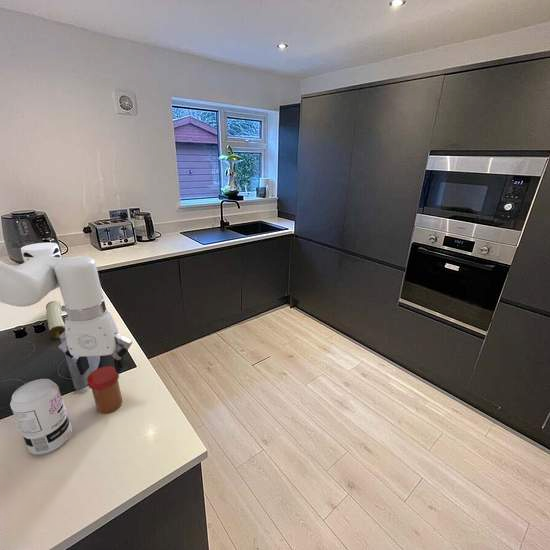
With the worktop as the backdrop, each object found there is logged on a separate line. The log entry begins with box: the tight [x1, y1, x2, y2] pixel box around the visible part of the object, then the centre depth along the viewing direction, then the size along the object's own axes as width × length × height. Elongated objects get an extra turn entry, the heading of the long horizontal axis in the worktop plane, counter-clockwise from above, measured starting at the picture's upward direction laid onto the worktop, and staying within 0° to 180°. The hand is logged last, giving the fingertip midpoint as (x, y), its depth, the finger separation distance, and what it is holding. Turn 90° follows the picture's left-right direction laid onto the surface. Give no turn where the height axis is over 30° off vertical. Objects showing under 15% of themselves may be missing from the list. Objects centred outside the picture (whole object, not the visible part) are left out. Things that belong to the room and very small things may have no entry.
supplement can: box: [9, 378, 73, 455], centre depth 64 cm, size 8×8×15 cm
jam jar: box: [91, 379, 123, 415], centre depth 75 cm, size 6×6×10 cm
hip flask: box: [59, 331, 101, 391], centre depth 85 cm, size 16×4×20 cm, turn 15°
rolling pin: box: [45, 300, 65, 340], centre depth 113 cm, size 32×6×5 cm, turn 38°
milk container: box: [20, 242, 62, 263], centre depth 152 cm, size 17×17×18 cm
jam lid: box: [87, 365, 120, 391], centre depth 74 cm, size 7×7×2 cm
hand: (102, 370), depth 73 cm, fingers open, 8 cm apart
